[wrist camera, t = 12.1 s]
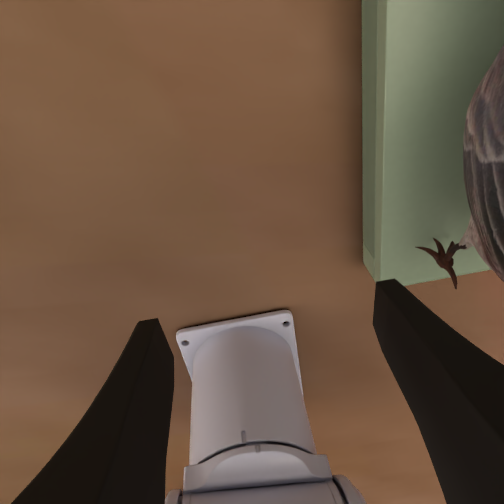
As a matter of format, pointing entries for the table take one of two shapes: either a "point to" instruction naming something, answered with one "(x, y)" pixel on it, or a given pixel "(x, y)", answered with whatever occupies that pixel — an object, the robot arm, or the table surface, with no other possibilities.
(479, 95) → the bird
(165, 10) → the table surface
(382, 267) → the shelf
